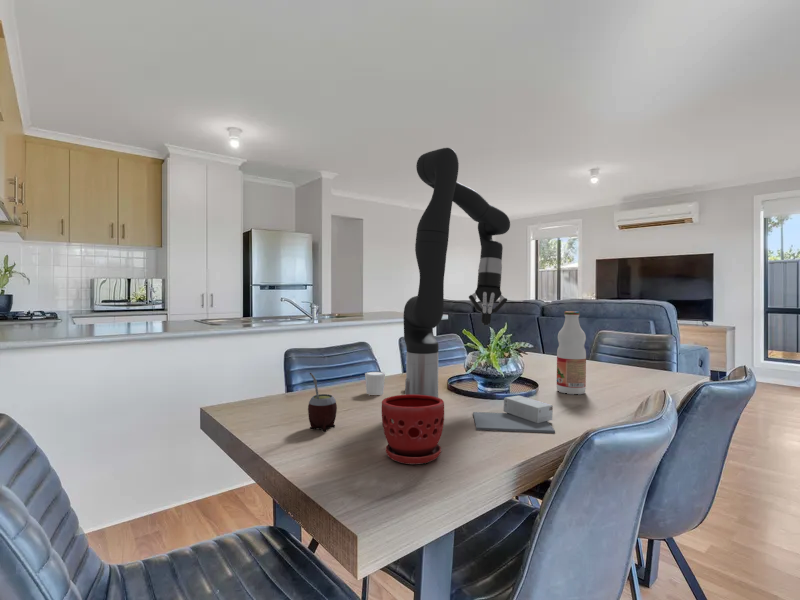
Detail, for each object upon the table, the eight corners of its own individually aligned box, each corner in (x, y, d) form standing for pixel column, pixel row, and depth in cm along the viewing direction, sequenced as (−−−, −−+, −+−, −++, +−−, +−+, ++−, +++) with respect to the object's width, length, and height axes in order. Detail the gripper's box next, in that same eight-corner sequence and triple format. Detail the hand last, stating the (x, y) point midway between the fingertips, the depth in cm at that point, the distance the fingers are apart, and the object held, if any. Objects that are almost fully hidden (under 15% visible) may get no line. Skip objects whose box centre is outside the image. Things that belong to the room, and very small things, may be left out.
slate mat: (476, 429, 107) (476, 427, 107) (473, 414, 121) (473, 411, 121) (554, 433, 105) (554, 430, 105) (542, 416, 119) (542, 414, 119)
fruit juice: (580, 396, 142) (581, 312, 142) (552, 392, 148) (553, 311, 148) (589, 391, 149) (590, 311, 149) (562, 387, 155) (563, 310, 155)
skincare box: (503, 412, 121) (536, 425, 110) (503, 396, 120) (537, 408, 110) (518, 409, 124) (552, 421, 113) (519, 393, 123) (553, 405, 113)
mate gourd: (333, 422, 112) (333, 365, 112) (340, 431, 105) (340, 370, 105) (304, 425, 110) (304, 367, 109) (309, 435, 102) (309, 372, 102)
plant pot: (456, 455, 90) (456, 398, 90) (416, 475, 80) (416, 411, 80) (409, 440, 99) (409, 389, 99) (368, 456, 89) (368, 399, 89)
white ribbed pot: (389, 393, 145) (389, 372, 145) (377, 397, 139) (377, 376, 139) (372, 390, 149) (372, 370, 149) (360, 394, 143) (360, 373, 143)
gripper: (470, 269, 138) (466, 322, 137) (512, 272, 137) (508, 326, 136) (468, 273, 146) (464, 323, 144) (508, 276, 145) (504, 327, 143)
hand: (485, 325), depth 140 cm, fingers closed
